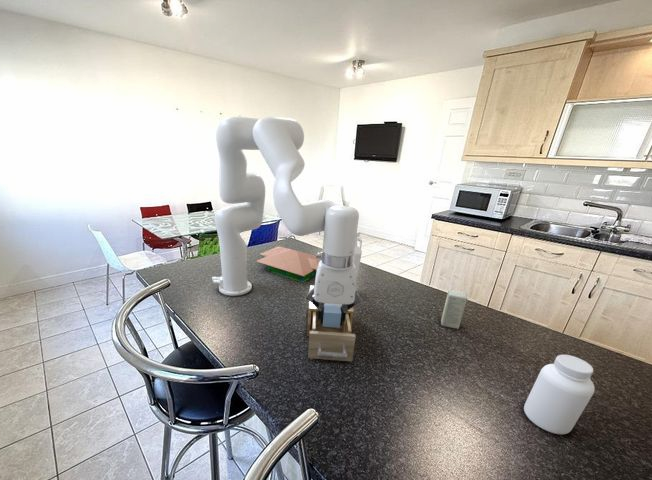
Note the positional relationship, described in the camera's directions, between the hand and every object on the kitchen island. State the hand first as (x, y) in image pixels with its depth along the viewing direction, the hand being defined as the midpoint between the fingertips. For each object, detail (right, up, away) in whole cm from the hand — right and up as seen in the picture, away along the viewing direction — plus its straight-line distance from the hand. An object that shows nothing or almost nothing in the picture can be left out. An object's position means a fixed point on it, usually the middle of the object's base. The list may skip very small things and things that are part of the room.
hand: (331, 321), depth 79 cm
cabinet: (+1, -3, +14) cm, 15 cm away
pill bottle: (+43, -18, -17) cm, 50 cm away
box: (+40, -3, +16) cm, 43 cm away
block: (0, 0, 0) cm, 0 cm away
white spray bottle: (+11, +5, +32) cm, 34 cm away
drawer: (0, -8, +2) cm, 8 cm away
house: (-9, +16, +56) cm, 59 cm away
